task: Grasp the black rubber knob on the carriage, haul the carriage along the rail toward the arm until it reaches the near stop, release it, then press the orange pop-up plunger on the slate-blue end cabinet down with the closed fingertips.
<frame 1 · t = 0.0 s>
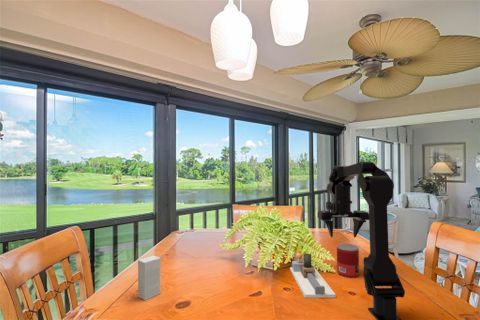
hand: (343, 237, 103), 15 cm above the table, fingers open, 9 cm apart
canned food: (347, 274, 104), on the table
skincare box: (149, 295, 86), on the table
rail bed: (310, 282, 96), on the table
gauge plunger: (299, 255, 105), point 7 cm above the table, slide at 1.5 cm
carriage: (307, 264, 100), point 5 cm above the table, slide at 3.5 cm
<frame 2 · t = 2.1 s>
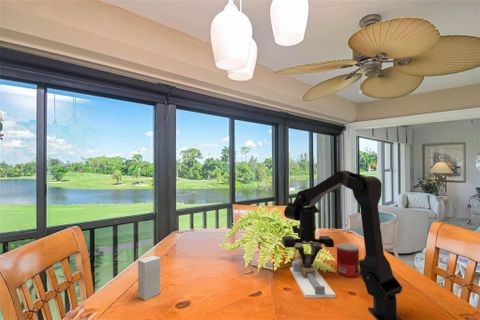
hand: (307, 264, 100), 5 cm above the table, fingers closed on carriage, 3 cm apart
carriage: (307, 264, 100), point 5 cm above the table, slide at 3.5 cm, touching gripper
everything else where it was.
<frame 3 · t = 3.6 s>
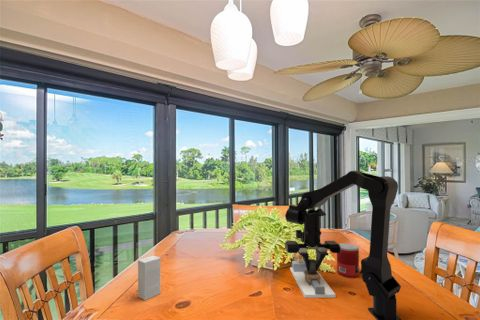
hand: (312, 270, 94), 5 cm above the table, fingers closed on carriage, 3 cm apart
carriage: (312, 270, 94), point 5 cm above the table, slide at -2.6 cm, touching gripper
everything else where it was.
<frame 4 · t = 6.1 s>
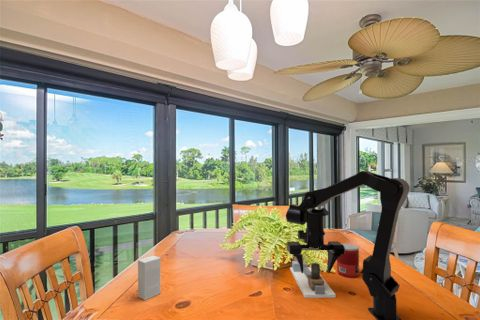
hand: (315, 272, 90), 6 cm above the table, fingers open, 9 cm apart
carriage: (315, 275, 90), point 5 cm above the table, slide at -6.5 cm
everything else where it was.
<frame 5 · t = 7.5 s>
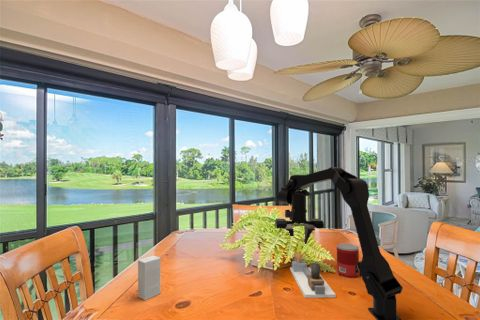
hand: (298, 244, 105), 11 cm above the table, fingers open, 4 cm apart
nothing on the table moved.
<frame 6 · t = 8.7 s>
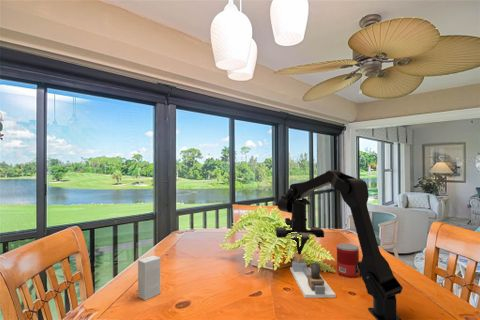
hand: (299, 253, 105), 7 cm above the table, fingers closed, pressing on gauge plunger
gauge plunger: (299, 256, 105), point 7 cm above the table, slide at 1.4 cm, touching gripper
everything else where it was.
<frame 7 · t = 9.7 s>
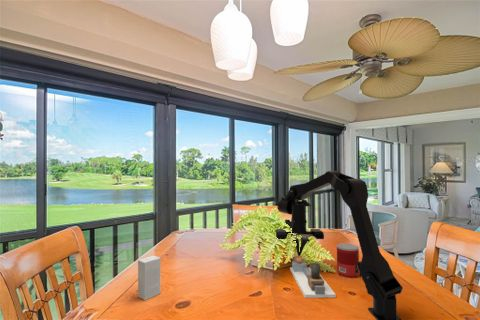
hand: (298, 255, 105), 7 cm above the table, fingers closed
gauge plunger: (299, 259, 105), point 5 cm above the table, slide at 0.0 cm
everything else where it was.
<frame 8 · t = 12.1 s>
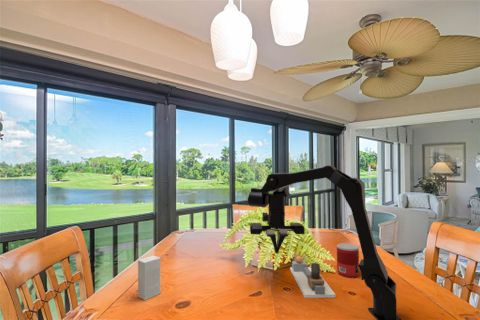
hand: (276, 252, 93), 12 cm above the table, fingers closed
nothing on the table moved.
at the end: carriage slide at -6.5 cm; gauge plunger slide at 0.0 cm; the gripper is holding nothing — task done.
